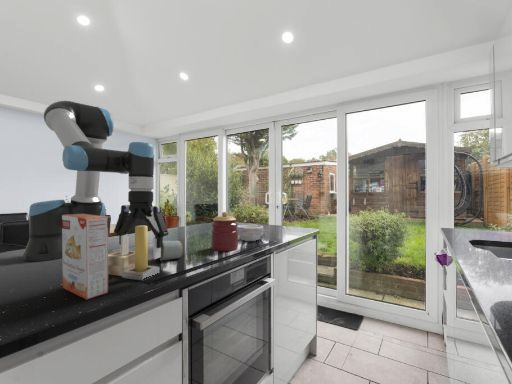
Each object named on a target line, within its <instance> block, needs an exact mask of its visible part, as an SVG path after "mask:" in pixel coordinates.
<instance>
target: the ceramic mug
mask: <svg viewBox="0 0 512 384" xmlns="http://www.w3.org/2000/svg"><path fill="white" fill-rule="evenodd" d="M183 253H184V246H183V243H182V242H181V240H163V246H162V247H161V257H160V258H159V259H160V261H162V262H163V261H169V260H177V259H181V257H182V256H183Z"/></svg>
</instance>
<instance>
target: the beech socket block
mask: <svg viewBox="0 0 512 384" xmlns="http://www.w3.org/2000/svg"><path fill="white" fill-rule="evenodd" d="M120 253H121V250H118V251H115V252H110V253H108V275H112V276H119V277H120V276H121V277H122V271H125V270H127V269H130V268H133V267H135V250H129V253H128V254H126V255H123V256H121V255H120Z"/></svg>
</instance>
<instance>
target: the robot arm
mask: <svg viewBox="0 0 512 384" xmlns="http://www.w3.org/2000/svg"><path fill="white" fill-rule="evenodd" d="M43 120H44V123H45V125H46V126H47V127H48V129H50V130H51V131H53V132H54V133H55V135H56V136H57V138H58V140H59V141H60V143H61V145H62V146H63V151H62V163H63V167H64V168H65V169H66V170H69V171H76V180H75V181H76V182H75V194H74V195H73V196H71V197H70V202H66V200H65V199H53V200H44V201H38V202H34V203H31V204H30V206H29V209H28V210H29V212H28V219H29V220H28V223H29V224H28V226H29V227H28V230H29V231H28V234H29V235H28V237H29V239H28V241H27V244H26V246H25V250H24V252H23V261H26V262H39V261H40V262H43V261H50V260H55V259H57V260H58V259H60V258H62V259H63V256H62V215H68V214H89V215H97V216H105V217H106V205H105V203H104V202H102V198H101V197H99V184H100V174H101V172H103V173H118V174H122V175H123V174H125V175H126V174H128V189H129V191H128V192H127V193H128V194H127V196H128V197H127V198H128V199H127V201H128V202H129V204H123V205H121V206H120V213H119V216H118V219H117V221H116V225H115V227H114V230H113V233H114V234H117V235H118V237H119V239H118V241H119V242H118V243H119V245H120V251H121V253H120V255H121V256H123V255H126V254H128V253H129V249H130V248H129V247H130V246H129V240H130V239H129V238H130V237H129V233H128V232H129V230H130V229H131V227H133V224H134V223H135V221H136V220H138V219H139V220H143V221H145V222H146V224H147V226H149V228H150V229H151V230H150V231H152V233H153V235H154V237H153V239H152V241H153V242H152V244H153V245H152V246H153V247H152V248H153V249H152V250H153V251H152V252H153V254H152V258H153V260H156V259H160V257H161V247H162V246H163V241H164V240H163V239H164V237H166V236H169V233H170V232H169V231H168V228H167V225H166V222H165V219H164V217H163V214H162V206H161V205H155V206H153V202H154V191H153V190H154V182H155V181H154V178H155V177H154V174H155V173H154V171H155V169H154V168H155V167H154V166H155V154H154V153H155V152H154V151H155V149H154V146H153V144H152V143H149V142H144V141H133V142H130V143H129V144H128V150H127V151H125V150H117V149H116V150H114V149H106V148H103V144H104V143H105V142H106V141H107V140H108V138H109V137H111V136H112V135H113V132H114V120H113V116H112V114H111V113H110V111H109V110H107V109H105V108H102V107H100V106H93V105H89V104H85V103H80V102H79V103H78V102H74V101H70V100H59V101H55V102H53V103H51V104H50V105H48V106H47V107H46V108H45V110H44V112H43Z"/></svg>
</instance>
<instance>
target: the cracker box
mask: <svg viewBox="0 0 512 384" xmlns="http://www.w3.org/2000/svg"><path fill="white" fill-rule="evenodd" d="M108 217H109V216H106V215H105V216H97V215H89V214H68V215H62V256H63V257H62V288H63V289H64V290H66V291H68V292H70V293H72V294H74V295H76V296H78V297H81V298H83V299H84V300H91V299H93V298H96V297H99V296H103V295H105V294H108V293H109V274H108V254H109V218H108Z"/></svg>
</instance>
